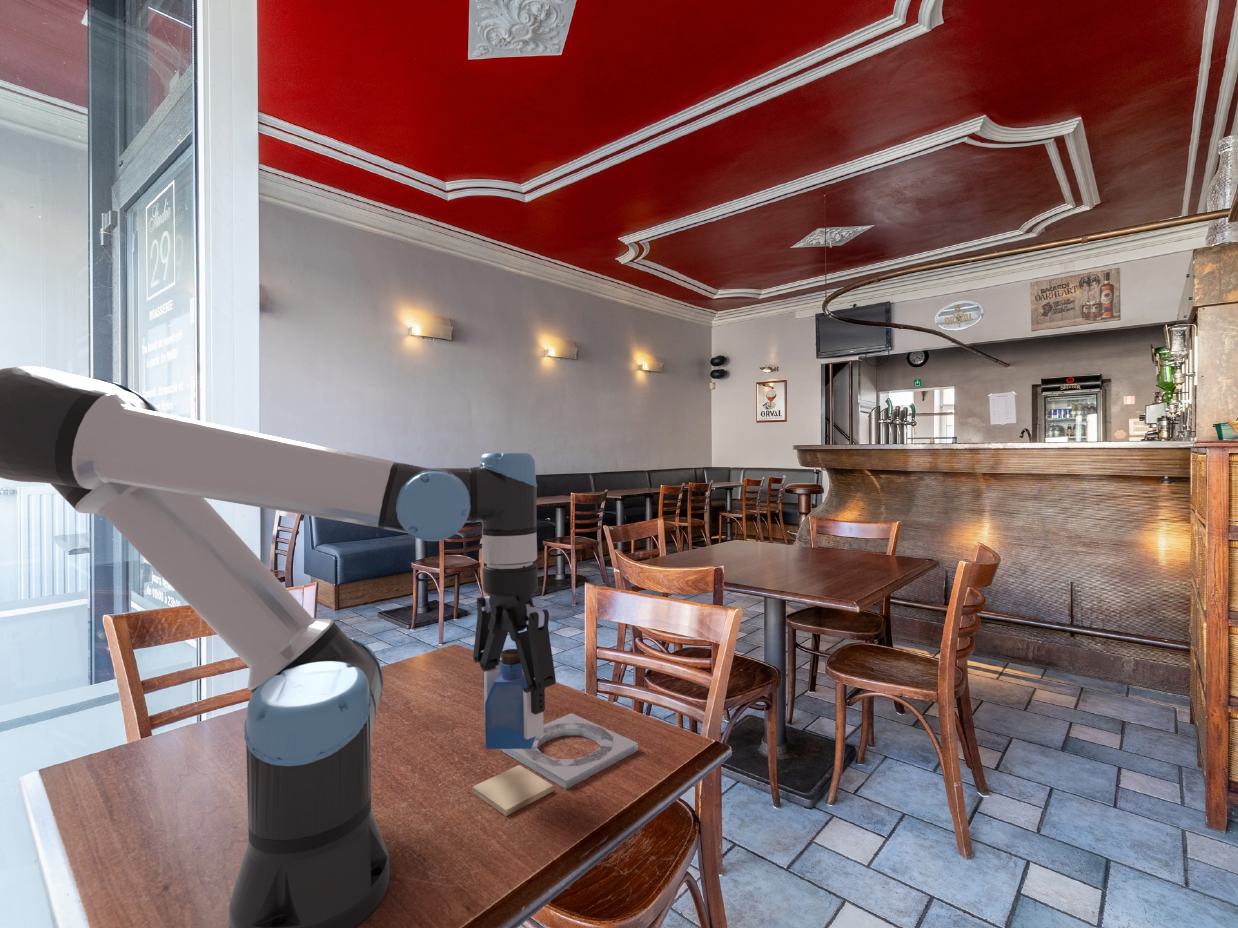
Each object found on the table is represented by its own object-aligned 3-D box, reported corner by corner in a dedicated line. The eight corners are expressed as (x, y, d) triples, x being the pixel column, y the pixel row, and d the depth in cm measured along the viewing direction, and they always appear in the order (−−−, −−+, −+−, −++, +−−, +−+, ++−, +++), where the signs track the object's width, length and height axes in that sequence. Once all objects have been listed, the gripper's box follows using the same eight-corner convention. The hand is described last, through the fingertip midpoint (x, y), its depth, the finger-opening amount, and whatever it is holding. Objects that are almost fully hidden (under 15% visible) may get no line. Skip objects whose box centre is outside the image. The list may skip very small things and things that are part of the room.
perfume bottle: (538, 727, 86) (537, 645, 86) (531, 748, 80) (529, 660, 80) (496, 727, 86) (494, 645, 86) (485, 748, 80) (484, 660, 80)
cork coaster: (505, 816, 77) (505, 810, 77) (472, 792, 83) (472, 786, 83) (553, 790, 83) (553, 785, 83) (519, 769, 89) (519, 764, 89)
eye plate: (566, 789, 84) (566, 780, 84) (500, 750, 95) (500, 742, 95) (638, 750, 94) (638, 742, 94) (571, 719, 105) (571, 712, 105)
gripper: (582, 568, 78) (584, 739, 78) (489, 551, 93) (492, 694, 93) (536, 578, 72) (539, 761, 73) (446, 558, 87) (449, 710, 88)
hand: (513, 723), depth 83 cm, fingers closed on perfume bottle, 9 cm apart
